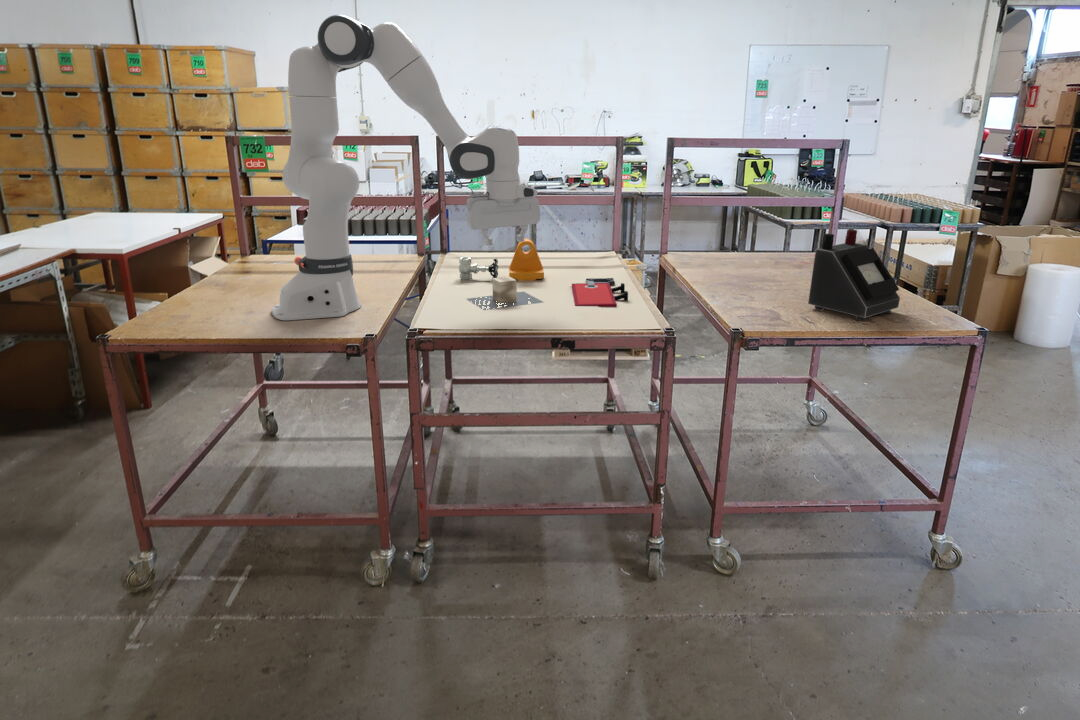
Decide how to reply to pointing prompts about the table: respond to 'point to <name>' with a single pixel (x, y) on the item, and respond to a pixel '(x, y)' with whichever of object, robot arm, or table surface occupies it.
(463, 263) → the valve
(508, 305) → the grey mat
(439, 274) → the table surface
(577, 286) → the red board with handle
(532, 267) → the bracket
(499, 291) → the maple block
